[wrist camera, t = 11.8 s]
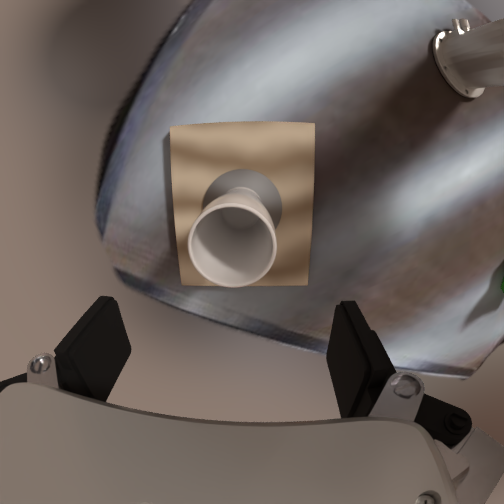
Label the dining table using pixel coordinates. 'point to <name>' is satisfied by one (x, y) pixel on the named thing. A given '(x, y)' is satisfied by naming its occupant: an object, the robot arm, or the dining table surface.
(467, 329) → the dining table surface
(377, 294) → the dining table surface
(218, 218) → the drinking glass
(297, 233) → the serving board
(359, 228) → the dining table surface
